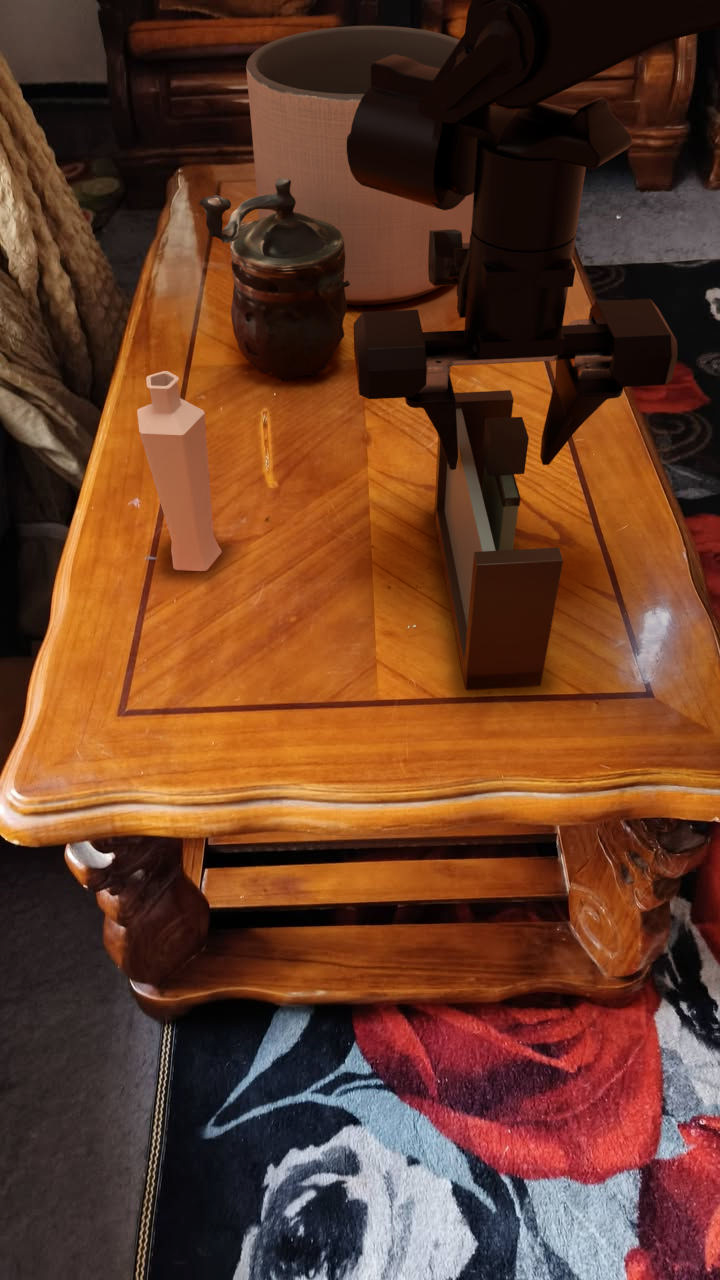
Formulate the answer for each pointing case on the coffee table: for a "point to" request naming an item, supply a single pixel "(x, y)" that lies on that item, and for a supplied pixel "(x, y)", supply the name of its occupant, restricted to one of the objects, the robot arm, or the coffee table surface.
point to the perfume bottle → (180, 471)
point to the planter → (344, 152)
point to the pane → (503, 476)
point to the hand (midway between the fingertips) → (498, 463)
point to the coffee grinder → (283, 283)
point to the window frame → (490, 565)
